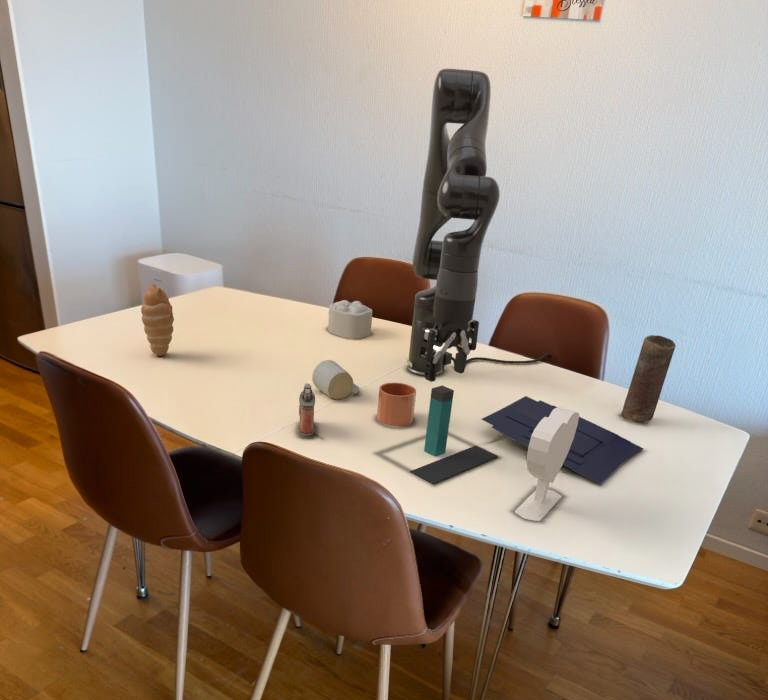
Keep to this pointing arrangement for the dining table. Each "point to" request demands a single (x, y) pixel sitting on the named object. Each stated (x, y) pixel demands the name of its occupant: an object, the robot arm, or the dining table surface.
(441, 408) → the block
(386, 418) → the pen cup
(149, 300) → the ridged brown croissant
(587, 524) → the dining table surface
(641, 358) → the brown hollow cylinder
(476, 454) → the mat
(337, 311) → the lumpy-topped squat cylinder
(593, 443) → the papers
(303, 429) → the lighter
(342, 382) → the ceramic mug
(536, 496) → the heart sculpture
